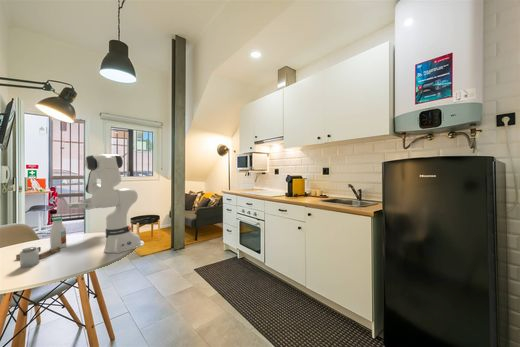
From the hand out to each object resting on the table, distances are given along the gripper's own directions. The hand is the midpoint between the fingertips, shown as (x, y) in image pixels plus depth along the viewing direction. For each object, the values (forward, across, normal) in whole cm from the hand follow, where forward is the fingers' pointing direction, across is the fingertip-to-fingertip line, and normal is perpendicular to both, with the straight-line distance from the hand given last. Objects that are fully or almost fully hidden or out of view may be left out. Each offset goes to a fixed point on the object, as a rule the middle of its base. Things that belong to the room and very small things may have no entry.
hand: (73, 207), depth 154 cm
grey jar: (+38, +10, +25) cm, 46 cm away
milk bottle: (+12, 0, +25) cm, 28 cm away
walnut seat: (+24, 0, +25) cm, 35 cm away
